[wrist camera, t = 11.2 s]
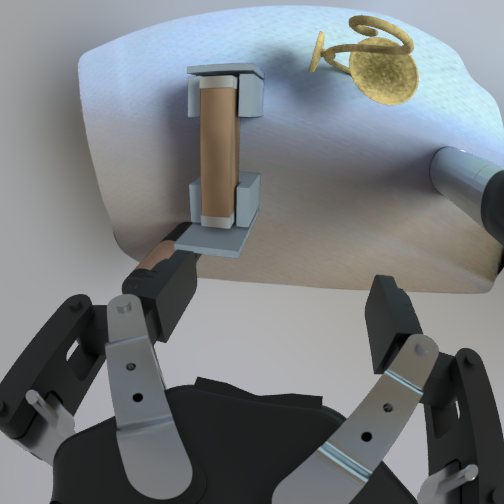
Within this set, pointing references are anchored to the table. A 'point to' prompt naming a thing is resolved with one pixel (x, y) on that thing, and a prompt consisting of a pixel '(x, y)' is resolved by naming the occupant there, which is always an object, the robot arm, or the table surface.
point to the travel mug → (155, 258)
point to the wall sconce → (375, 61)
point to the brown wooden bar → (219, 149)
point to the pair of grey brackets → (249, 183)
